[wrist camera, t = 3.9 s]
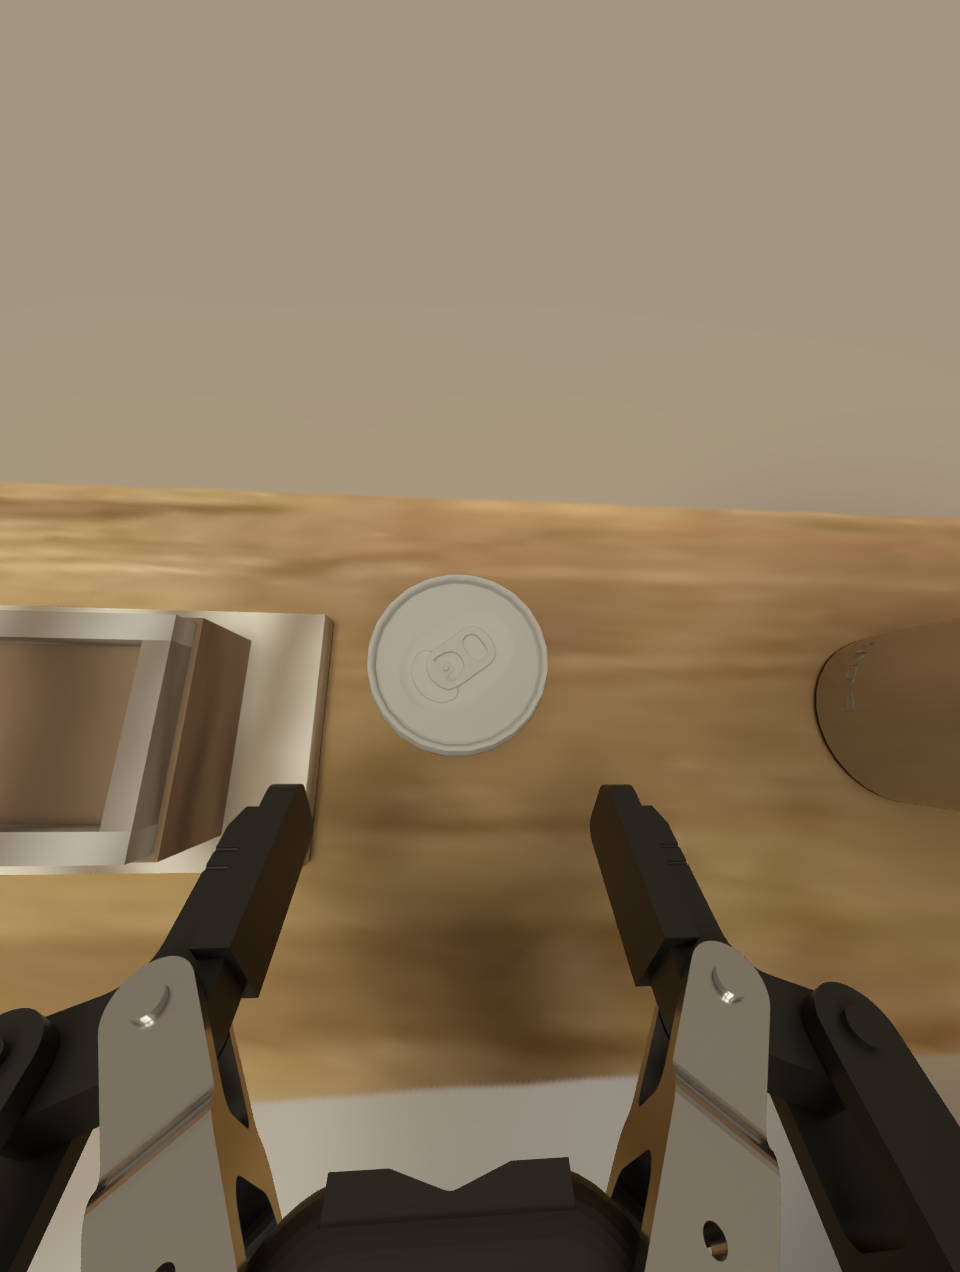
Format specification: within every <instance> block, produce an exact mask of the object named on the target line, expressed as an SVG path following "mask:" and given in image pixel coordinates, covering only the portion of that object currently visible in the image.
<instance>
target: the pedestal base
mask: <svg viewBox="0 0 960 1272" xmlns="http://www.w3.org/2000/svg"><path fill="white" fill-rule="evenodd" d="M333 624H334V622H333V621H332V620H331V619H329V618H328V617H327V616H326V615H325V614H290V613H254V612H219V611H183V610H147V609H112V608H76V607H41V606H5V605H0V875H36V874H124V873H202V872H203V871H204V870H205V869H206V864H207V863H208V861H209V859H210V857H211V855H212V853H213V852H215V850H216V846H217V844H218V842H219V840H220V839H221V837H222V835H223V833H224V831H225V829H226V828H227V826H228V825H229V824H230V823H231V822H232V821H233V820H234V818H235V817H236V816H237V815H238V814H239V813H240V812H241V811H242V810H243V809H244V808H245V807H246V806H259V805H260V803H261V801H262V799H263V797H264V795H265V793H266V791H267V789H268V788H269V786H270V785H272V784H303V785H304V787H305V791H306V794H307V798H308V802H309V806H310V810H311V814H312V818H313V816H314V806H315V797H316V787H317V777H318V768H319V758H320V749H321V739H322V730H323V720H324V710H325V701H326V691H327V682H328V672H329V663H330V653H331V643H332V634H333ZM310 845H311V842H310ZM310 845H309V848H308V851H307V854H306V857H305V860H304V863H303V866H304V865H305V864H306V863H307V862H309V854H310ZM303 866H302V867H303Z"/></svg>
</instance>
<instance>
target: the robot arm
mask: <svg viewBox="0 0 960 1272" xmlns="http://www.w3.org/2000/svg"><path fill="white" fill-rule="evenodd" d="M816 708H817V713H818V718H819V723H820V727H821V729H822V732H823V734H824V737H825V739H826V742H827V744H828V746H829V747H830V749H831V751H832V752H833V754H834V755H835V757H836V759H837V760H838V761H839V762H840V764H841V765H842V766H843V767H844V768H845V769H846V771H847V772H848V773H849V774H850V775H851V776H852V777H853V778H855V779H856V780H857V781H858V782H860V783H861V784H862V785H863V786H864V787H866V788H868V789H869V790H871V791H873V792H875V793H877V794H878V795H880V796H882V797H885V798H888V799H891V800H894V801H897V802H902V803H909V804H915V805H922V806H929V807H936V808H943V809H949V810H956V811H960V617H959V618H955V619H951V620H947V621H942V622H938V623H933V624H929V625H925V626H921V627H916V628H912V629H908V630H904V631H900V632H895V633H891V634H887V635H883V636H878V637H874V638H870V639H866V640H861V641H858V642H855V643H852V644H849V645H847V646H845V647H843V648H842V649H840V650H839V651H837V652H836V653H835V654H834V655H833V656H832V657H831V658H830V660H829V661H828V662H827V663H826V665H825V667H824V669H823V671H822V673H821V675H820V678H819V682H818V687H817V691H816ZM312 832H313V818H312V814H311V810H310V806H309V802H308V798H307V794H306V791H305V787H304V785H303V784H272V785H270V786H269V788H268V789H267V791H266V793H265V795H264V797H263V799H262V801H261V803H260V805H259V806H246V807H245V808H244V809H243V810H242V811H241V812H240V813H239V814H238V815H237V816H236V817H235V818H234V820H233V821H232V822H231V823H230V824H229V825H228V826H227V828H226V829H225V831H224V833H223V835H222V837H221V839H220V840H219V842H218V844H217V846H216V850H215V852H213V853H212V855H211V857H210V859H209V861H208V863H207V864H206V869H205V870H204V871H203V872H202V874H201V875H200V877H199V879H198V881H197V883H196V885H195V886H194V888H193V890H192V892H191V894H190V896H189V897H188V899H187V901H186V903H185V905H184V907H183V908H182V910H181V912H180V914H179V916H178V918H177V919H176V921H175V923H174V925H173V927H172V929H171V930H170V932H169V934H168V936H167V938H166V940H165V941H164V943H163V945H162V946H161V948H160V950H159V951H158V952H157V954H156V955H155V956H154V958H153V959H152V960H151V961H150V962H149V963H148V964H147V965H145V966H143V967H142V968H140V969H139V970H138V971H136V972H135V973H134V974H133V975H131V976H130V977H129V978H128V979H127V980H126V981H125V982H124V983H123V984H122V985H121V986H120V987H119V988H117V989H115V990H113V991H112V992H109V993H107V994H105V995H102V996H100V997H97V998H95V999H92V1000H89V1001H87V1002H84V1003H81V1004H79V1005H76V1006H73V1007H71V1008H68V1009H65V1010H63V1011H60V1012H57V1013H55V1014H52V1015H49V1016H47V1017H44V1016H43V1015H41V1014H40V1013H39V1012H37V1011H36V1010H33V1009H30V1008H20V1009H15V1010H11V1011H9V1012H6V1013H3V1014H1V1015H0V1272H27V1270H28V1268H29V1266H30V1264H31V1261H32V1259H33V1257H34V1255H35V1253H36V1250H37V1248H38V1246H39V1244H40V1242H41V1240H42V1238H43V1236H44V1233H45V1231H46V1229H47V1227H48V1225H49V1223H50V1220H51V1218H52V1216H53V1214H54V1212H55V1210H56V1207H57V1205H58V1203H59V1201H60V1199H61V1197H62V1194H63V1192H64V1190H65V1188H66V1186H67V1183H68V1181H69V1179H70V1177H71V1175H72V1173H73V1171H74V1169H75V1166H76V1164H77V1162H78V1160H79V1158H80V1156H81V1153H82V1151H83V1149H84V1147H85V1145H86V1143H87V1140H88V1138H89V1136H90V1134H91V1132H92V1130H93V1129H95V1128H97V1127H99V1126H100V1178H99V1183H98V1186H97V1189H96V1191H95V1192H94V1194H93V1195H92V1196H91V1198H90V1199H89V1201H88V1204H87V1207H86V1211H85V1215H84V1221H83V1227H82V1241H81V1272H780V1211H781V1210H780V1207H781V1185H780V1174H779V1168H778V1163H777V1160H776V1156H775V1155H774V1152H773V1151H772V1150H771V1149H770V1147H769V1145H768V1142H767V1138H766V1106H767V1093H769V1094H770V1095H771V1098H772V1100H773V1103H774V1105H775V1108H776V1110H777V1113H778V1115H779V1118H780V1120H781V1123H782V1125H783V1127H784V1130H785V1132H786V1135H787V1137H788V1140H789V1142H790V1145H791V1147H792V1149H793V1152H794V1154H795V1157H796V1159H797V1162H798V1164H799V1167H800V1169H801V1171H802V1174H803V1176H804V1179H805V1181H806V1184H807V1186H808V1189H809V1191H810V1194H811V1196H812V1199H813V1201H814V1203H815V1206H816V1208H817V1211H818V1213H819V1216H820V1218H821V1221H822V1223H823V1226H824V1228H825V1230H826V1233H827V1235H828V1238H829V1240H830V1243H831V1245H832V1248H833V1250H834V1252H835V1255H836V1257H837V1260H838V1262H839V1265H840V1267H841V1270H842V1272H960V1127H959V1125H958V1124H957V1122H956V1121H955V1119H954V1117H953V1116H952V1114H951V1113H950V1111H949V1110H948V1108H947V1107H946V1105H945V1104H944V1102H943V1101H942V1099H941V1098H940V1096H939V1095H938V1093H937V1091H936V1090H935V1088H934V1087H933V1085H932V1084H931V1082H930V1081H929V1079H928V1078H927V1076H926V1074H925V1073H924V1071H923V1070H922V1068H921V1067H920V1065H919V1064H918V1062H917V1061H916V1059H915V1058H914V1056H913V1054H912V1053H911V1051H910V1050H909V1048H908V1047H907V1045H906V1044H905V1042H904V1041H903V1039H902V1038H901V1036H900V1035H899V1033H898V1031H897V1030H896V1029H895V1027H894V1026H893V1024H892V1023H891V1022H890V1020H889V1019H888V1018H887V1017H886V1016H885V1014H884V1013H883V1012H882V1011H881V1010H880V1009H879V1008H878V1007H877V1006H876V1005H875V1004H874V1003H872V1002H871V1001H870V1000H869V999H868V998H866V997H865V996H864V995H862V994H861V993H859V992H858V991H856V990H854V989H853V988H851V987H849V986H846V985H844V984H841V983H837V982H826V983H823V984H821V985H820V986H819V987H818V988H816V989H815V990H811V989H808V988H805V987H802V986H800V985H797V984H794V983H791V982H788V981H785V980H783V979H780V978H777V977H774V976H771V975H769V974H766V973H764V972H762V971H760V970H758V969H757V968H755V967H754V966H753V965H752V964H751V963H750V962H749V961H748V960H747V959H746V958H745V957H744V956H743V955H742V954H741V953H740V952H738V951H737V950H735V949H734V948H732V946H731V945H730V944H729V943H728V941H727V940H726V938H725V937H724V935H723V934H722V932H721V930H720V928H719V926H718V924H717V922H716V920H715V918H714V916H713V914H712V912H711V910H710V908H709V906H708V904H707V902H706V900H705V898H704V896H703V893H702V891H701V889H700V887H699V885H698V883H697V881H696V879H695V877H694V875H693V873H692V871H691V869H690V867H689V865H687V864H686V859H685V857H684V855H683V853H682V851H681V849H680V848H679V847H678V843H677V841H676V839H675V837H674V835H673V833H672V831H671V829H670V827H669V824H668V823H667V822H666V821H665V820H664V818H663V817H662V816H661V815H660V814H659V813H658V812H657V811H656V810H655V809H654V808H653V806H641V803H640V801H639V799H638V797H637V794H636V792H635V790H634V789H633V787H632V786H631V785H602V786H601V787H600V790H599V793H598V796H597V799H596V803H595V806H594V809H593V812H592V815H591V820H590V832H591V839H592V843H593V846H594V850H595V853H596V856H597V859H598V863H599V866H600V869H601V873H602V876H603V879H604V883H605V886H606V889H607V893H608V896H609V899H610V903H611V906H612V909H613V913H614V916H615V919H616V923H617V926H618V929H619V933H620V936H621V939H622V943H623V946H624V949H625V953H626V956H627V959H628V963H629V966H630V969H631V973H632V976H633V979H634V983H635V986H636V987H637V986H652V990H653V993H654V996H655V999H656V1002H657V1003H656V1006H655V1009H654V1014H653V1018H652V1022H651V1026H650V1031H649V1035H648V1039H647V1043H646V1048H645V1052H644V1056H643V1061H642V1065H641V1069H640V1073H639V1078H638V1082H637V1087H636V1091H635V1095H634V1099H633V1103H632V1106H631V1109H630V1112H629V1115H628V1117H627V1120H626V1122H625V1125H624V1127H623V1130H622V1133H621V1136H620V1139H619V1142H618V1146H617V1150H616V1154H615V1158H614V1162H613V1166H612V1170H611V1174H610V1178H609V1182H608V1187H607V1191H606V1193H605V1192H603V1191H602V1190H601V1189H600V1188H598V1187H597V1186H596V1185H595V1184H593V1183H592V1182H591V1181H589V1180H587V1179H585V1178H584V1177H582V1176H581V1175H579V1174H577V1173H574V1172H572V1171H570V1165H569V1158H568V1157H563V1158H547V1159H533V1160H517V1161H510V1162H508V1163H506V1164H504V1165H502V1166H501V1167H499V1168H497V1169H495V1170H493V1171H491V1172H489V1173H487V1174H485V1175H483V1176H481V1177H479V1178H478V1179H476V1180H474V1181H472V1182H470V1183H468V1184H466V1185H464V1186H462V1187H461V1188H458V1189H456V1190H454V1191H446V1190H442V1189H440V1188H437V1187H435V1186H432V1185H430V1184H427V1183H425V1182H422V1181H419V1180H417V1179H414V1178H412V1177H409V1176H407V1175H404V1174H402V1173H399V1172H396V1171H394V1170H391V1169H376V1170H361V1171H345V1172H329V1173H328V1178H327V1184H326V1187H324V1188H322V1189H320V1190H319V1191H317V1192H315V1193H314V1194H312V1195H311V1196H310V1197H308V1198H307V1199H305V1200H304V1201H302V1202H301V1203H300V1204H299V1205H298V1206H296V1207H295V1208H294V1209H293V1210H292V1211H291V1212H290V1213H289V1214H288V1215H286V1216H285V1217H284V1218H283V1219H282V1216H281V1213H280V1208H279V1203H278V1199H277V1195H276V1191H275V1186H274V1182H273V1178H272V1173H271V1170H270V1166H269V1163H268V1159H267V1156H266V1153H265V1150H264V1147H263V1145H262V1142H261V1140H260V1137H259V1135H258V1132H257V1129H256V1126H255V1122H254V1118H253V1113H252V1109H251V1105H250V1100H249V1096H248V1091H247V1087H246V1082H245V1078H244V1074H243V1069H242V1065H241V1060H240V1056H239V1052H238V1047H237V1043H236V1038H235V1034H234V1029H233V1025H232V1022H233V1019H234V1016H235V1014H236V1011H237V1008H238V1005H239V1003H240V1000H241V998H258V997H259V994H260V991H261V988H262V985H263V982H264V979H265V976H266V973H267V970H268V967H269V964H270V961H271V958H272V955H273V952H274V949H275V946H276V943H277V940H278V938H279V935H280V932H281V929H282V926H283V923H284V920H285V917H286V914H287V911H288V908H289V905H290V902H291V899H292V896H293V893H294V890H295V887H296V884H297V881H298V878H299V875H300V872H301V869H302V866H303V863H304V860H305V857H306V854H307V851H308V848H309V845H310V842H311V838H312ZM709 1247H711V1249H712V1255H711V1254H710V1253H709V1251H708V1249H707V1248H709Z"/></svg>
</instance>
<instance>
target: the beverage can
mask: <svg viewBox="0 0 960 1272" xmlns="http://www.w3.org/2000/svg"><path fill="white" fill-rule="evenodd" d="M367 671H368V673H367V674H368V679H369V684H370V689H371V694H372V698H373V700H374V702H375V704H376V706H377V708H378V710H379V712H380V714H381V716H382V718H383V719H384V720H385V721H386V722H387V723H388V725H389V726H390V727H391V728H392V729H393V730H394V731H395V732H396V733H397V734H398V735H399V736H400V737H401V738H403V739H405V740H406V741H408V742H409V743H411V744H413V745H414V746H416V747H417V748H419V749H421V750H425V751H428V752H432V753H435V754H439V755H442V756H471V755H475V754H478V753H482V752H486V751H489V750H492V749H494V748H496V747H497V746H499V745H501V744H503V743H504V742H506V741H508V740H509V739H511V738H513V737H514V736H515V735H516V734H517V733H518V732H519V731H520V730H521V729H522V728H523V726H524V725H525V724H526V723H527V722H528V721H529V720H530V719H531V717H532V715H533V713H534V711H535V709H536V708H537V706H538V704H539V702H540V700H541V698H542V695H543V690H544V686H545V682H546V677H547V673H548V662H547V647H546V644H545V640H544V637H543V634H542V631H541V627H540V626H539V624H538V622H537V621H536V619H535V617H534V616H533V614H532V612H531V611H530V609H529V608H528V607H527V606H526V605H525V604H524V603H523V602H522V601H521V600H520V599H519V598H518V597H517V596H516V595H515V594H514V593H513V592H511V591H509V590H507V589H506V588H504V587H502V586H501V585H499V584H497V583H495V582H494V581H490V580H487V579H483V578H480V577H476V576H473V575H445V576H440V577H436V578H431V579H427V580H425V581H423V582H421V583H419V584H417V585H415V586H413V587H411V588H409V589H407V590H406V591H404V592H403V593H402V594H401V595H400V596H399V597H397V598H396V599H395V600H394V601H393V602H392V603H390V605H389V606H388V607H387V609H386V610H385V612H384V613H383V615H382V616H381V617H380V619H379V620H378V622H377V623H376V626H375V629H374V632H373V635H372V637H371V640H370V643H369V649H368V661H367Z"/></svg>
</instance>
